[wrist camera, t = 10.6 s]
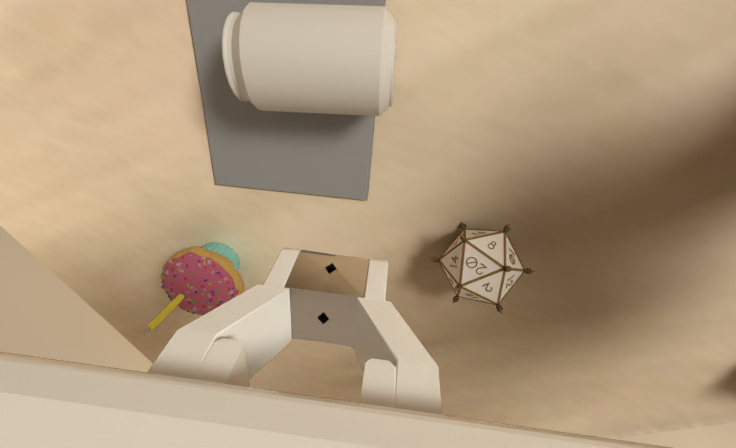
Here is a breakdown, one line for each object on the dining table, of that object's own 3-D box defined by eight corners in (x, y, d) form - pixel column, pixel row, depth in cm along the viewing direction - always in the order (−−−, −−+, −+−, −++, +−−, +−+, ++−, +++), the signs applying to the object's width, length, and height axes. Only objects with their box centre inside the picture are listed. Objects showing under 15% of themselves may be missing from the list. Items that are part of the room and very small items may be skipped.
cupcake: (195, 283, 45) (135, 363, 35) (176, 226, 41) (101, 299, 30) (260, 286, 44) (219, 368, 34) (248, 229, 40) (197, 303, 30)
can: (398, -5, 22) (207, -11, 22) (390, 121, 24) (221, 114, 25) (397, 15, 29) (251, 10, 29) (391, 112, 31) (258, 106, 32)
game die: (451, 231, 43) (401, 272, 36) (500, 189, 36) (449, 230, 30) (502, 289, 41) (459, 343, 35) (563, 257, 35) (524, 316, 28)
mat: (388, -37, 27) (388, -38, 26) (367, 199, 37) (367, 200, 37) (179, -57, 27) (177, -57, 27) (216, 182, 37) (215, 184, 37)
